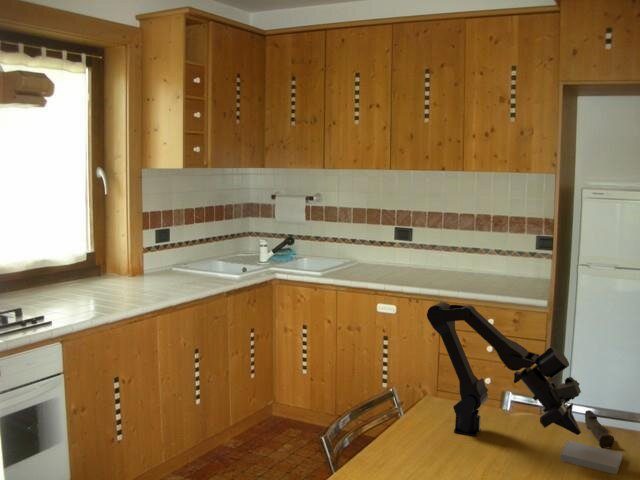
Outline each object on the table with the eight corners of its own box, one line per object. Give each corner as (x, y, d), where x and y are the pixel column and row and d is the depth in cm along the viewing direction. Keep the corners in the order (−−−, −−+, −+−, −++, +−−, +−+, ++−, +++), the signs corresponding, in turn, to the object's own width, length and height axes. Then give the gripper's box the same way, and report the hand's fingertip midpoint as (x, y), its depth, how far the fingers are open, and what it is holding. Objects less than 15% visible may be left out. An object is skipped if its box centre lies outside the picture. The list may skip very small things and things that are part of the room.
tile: (560, 453, 179) (616, 467, 172) (568, 440, 188) (622, 453, 180) (559, 462, 179) (616, 476, 172) (567, 448, 188) (621, 461, 181)
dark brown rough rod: (614, 449, 188) (615, 433, 187) (599, 448, 188) (600, 432, 188) (595, 423, 206) (596, 408, 206) (581, 422, 207) (582, 407, 206)
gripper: (555, 379, 174) (597, 430, 169) (569, 361, 190) (609, 407, 185) (522, 402, 179) (563, 452, 174) (539, 383, 195) (577, 428, 190)
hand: (579, 433), depth 181 cm, fingers closed
